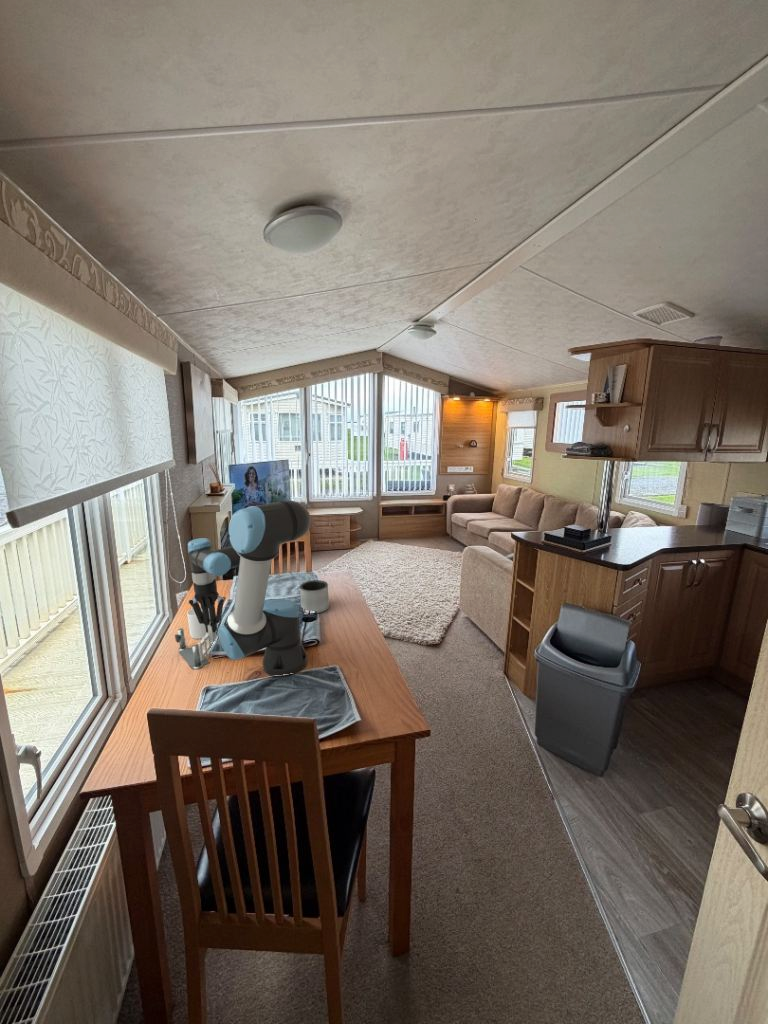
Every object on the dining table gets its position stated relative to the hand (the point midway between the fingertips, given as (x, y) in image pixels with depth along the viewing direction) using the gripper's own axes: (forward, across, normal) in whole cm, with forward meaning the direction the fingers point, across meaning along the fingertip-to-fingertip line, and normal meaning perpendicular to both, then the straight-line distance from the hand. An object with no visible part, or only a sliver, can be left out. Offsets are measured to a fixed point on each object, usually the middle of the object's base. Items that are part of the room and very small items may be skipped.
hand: (213, 639), depth 157 cm
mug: (+5, +8, -11) cm, 14 cm away
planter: (+5, -32, -33) cm, 47 cm away
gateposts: (+4, +7, +6) cm, 10 cm away
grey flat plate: (+4, +5, +5) cm, 8 cm away
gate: (+3, +1, +3) cm, 5 cm away
